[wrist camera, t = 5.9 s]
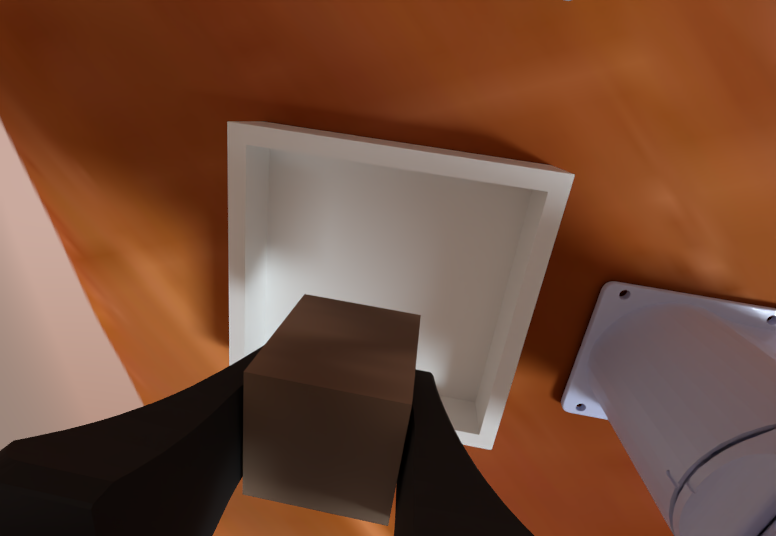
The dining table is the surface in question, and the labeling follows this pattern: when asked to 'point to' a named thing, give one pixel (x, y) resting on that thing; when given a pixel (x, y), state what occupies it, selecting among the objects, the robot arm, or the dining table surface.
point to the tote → (394, 249)
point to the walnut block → (330, 408)
